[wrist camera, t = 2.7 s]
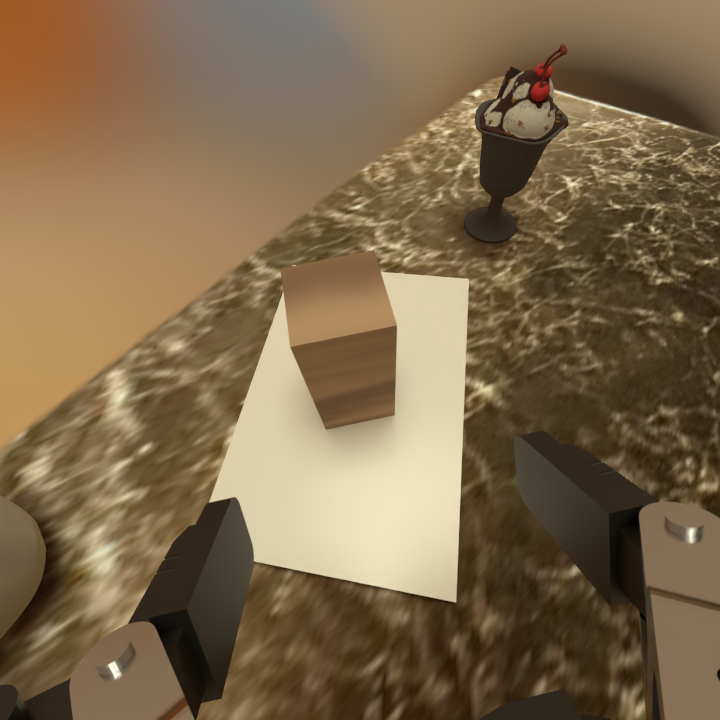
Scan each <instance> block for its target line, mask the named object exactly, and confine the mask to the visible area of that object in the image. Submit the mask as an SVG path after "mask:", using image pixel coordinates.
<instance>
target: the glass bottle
mask: <svg viewBox="0 0 720 720" xmlns="http://www.w3.org/2000/svg"><path fill="white" fill-rule="evenodd" d="M45 560H46V546H45V543H44V540H43V538H42V535H41V532H40V530H39V527H38V525H37V523H36V521H35V520H34V519H33V518H32V517H31V516H30V515H29V514H28V513H27V512H26V511H25V510H23V509H22V508H20V507H19V506H18V505H16V504H14V503H13V502H11V501H10V500H8V499H7V498H5V497H3V496H1V495H0V639H1V638H2V637H3V635H4V634H5V633H6V632H7V631H8V630H9V629H10V627H11V626H12V625H13V624H14V623H15V621H16V620H17V619H18V618H19V616H20V615H21V614H22V612H23V611H24V610H25V608H26V607H27V606H28V604H29V603H30V601H31V600H32V598H33V596H34V595H35V593H36V591H37V589H38V587H39V584H40V582H41V580H42V576H43V571H44V567H45Z"/></svg>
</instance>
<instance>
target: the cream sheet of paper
mask: <svg viewBox="0 0 720 720" xmlns="http://www.w3.org/2000/svg"><path fill="white" fill-rule="evenodd" d="M293 266H296V265H293ZM381 274H382V278H383V281H384V284H385V287H386V291H387V294H388V297H389V301H390V304H391V307H392V310H393V314H394V317H395V320H396V323H397V349H396V387H395V415H393V416H389V417H384V418H379V419H375V420H370V421H365V422H360V423H356V424H351V425H346V426H342V427H337V428H332V429H327V430H326V429H325V426H324V424H323V422H322V420H321V417H320V415H319V413H318V410H317V408H316V406H315V403H314V401H313V399H312V396H311V394H310V392H309V390H308V387H307V385H306V383H305V380H304V378H303V376H302V373H301V371H300V369H299V366H298V364H297V362H296V360H295V357H294V355H293V353H292V350H291V348H290V342H289V334H288V325H287V317H286V309H285V300H284V292H283V294H282V297H281V300H280V303H279V306H278V309H277V312H276V314H275V317H274V320H273V323H272V326H271V329H270V331H269V334H268V337H267V340H266V343H265V346H264V348H263V351H262V354H261V357H260V360H259V363H258V366H257V368H256V371H255V374H254V377H253V380H252V383H251V385H250V388H249V391H248V394H247V397H246V400H245V402H244V405H243V408H242V411H241V414H240V417H239V420H238V422H237V425H236V428H235V431H234V434H233V437H232V439H231V442H230V445H229V448H228V451H227V454H226V456H225V459H224V462H223V465H222V468H221V471H220V474H219V476H218V479H217V482H216V485H215V488H214V491H213V493H212V496H211V499H210V502H214V501H219V500H223V499H228V498H232V497H236V498H237V499H238V501H239V503H240V506H241V509H242V512H243V516H244V519H245V522H246V525H247V528H248V532H249V535H250V538H251V541H252V545H253V551H254V561H255V562H260V563H264V564H269V565H274V566H279V567H284V568H289V569H294V570H299V571H304V572H309V573H314V574H318V575H323V576H328V577H333V578H338V579H343V580H348V581H353V582H358V583H363V584H368V585H373V586H377V587H382V588H387V589H392V590H397V591H402V592H407V593H412V594H417V595H422V596H427V597H431V598H436V599H441V600H446V601H451V602H456V594H457V569H458V543H459V518H460V492H461V467H462V442H463V416H464V391H465V365H466V340H467V314H468V289H469V279H462V278H449V277H436V276H424V275H411V274H399V273H386V272H381ZM210 502H209V503H210Z"/></svg>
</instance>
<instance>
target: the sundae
mask: <svg viewBox="0 0 720 720" xmlns="http://www.w3.org/2000/svg"><path fill="white" fill-rule="evenodd" d="M559 52H561V54H560V55H559V56H557V57H555V58H554V59H552V60H551V61H550V59H551V58H552V57H553V56H554V55H555V54H557V53H559ZM566 53H567V48H566V46H565V45H564V44H561V45H560V49H559V50H558V51H556V52H555V53H553V54H552V55H551V56H550V57H549V59H548V60H547V61H546V63H542V64H540V65H538V66H537V67H536V69H535V70H527V71H524V72H522V71H520V70H518V69H515V68H514V67H510V68H508V70H507V73H506V75H505V78H504V80H503V83H502V86H501V88H500V91H499V94H498V96H497V99H493V100H488V101H485V102H483V103H482V104H481V105H480V106H479V107H478V109H477V110H476V115H475V124H476V128H477V130H478V131H479V132H481V133H482V146H481V158H480V183H481V185H482V187H483V188H484V189H485V191H486V192H487V193H488V194H490V195H491V201H490V205H489V207H484V208H479V209H476V210H474V211H472V212H471V213H470V214H469V215H468V216H467V217H466V219H465V228H466V230H467V231H468V233H469V234H470V235H472V236H473V237H474V238H476V239H478V240H481V241H485V242H500V241H504V240H506V239H508V238H510V237H511V236H513V234H514V233H515V231H516V221H515V219H514V218H513V216H512V215H510V214H509V213H508V212H506V211H504V210H501V208H502V204H503V201H504V198H505V197H510V196H512V195H514V194H516V193H518V192H519V191H520V190H522V189H523V188H524V186H525V185H526V183H527V181H528V180H529V178H530V177H531V175H532V173H533V171H534V169H535V167H536V165H537V163H538V161H539V159H540V157H541V155H542V153H543V151H544V149H545V147H546V146H547V144H548V143H549V142H550V141H551V140H552V139H553V138H554V137H555V136H556V135H558V134H559V133H560V132H561V131H562V130H563V129H565V128H566V127H567V126H568V118H567V116H566V115H565V114H564V113H563V112H562V111H561V110H560V109H559V108H558V107H557V106H556V105H555V104H554V103H553V93H554V90H553V84H552V81H551V79H550V76H551V74H552V67H551V65H550V64H551V63H552V62H553V61H554V60H556V59H557V58H559V57H561V56H562V55H566ZM549 61H550V62H549ZM548 62H549V64H548Z"/></svg>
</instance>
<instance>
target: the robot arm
mask: <svg viewBox="0 0 720 720" xmlns="http://www.w3.org/2000/svg"><path fill="white" fill-rule="evenodd" d="M514 452H515V462H516V473H517V483H518V488H519V492H520V495H521V497H522V499H523V501H524V503H525V505H526V506H527V507H528V509H529V510H530V511H531V512H532V513H533V515H534V516H535V517H536V518H537V519H538V520H539V522H540V523H541V524H542V525H543V526H544V528H545V529H546V530H547V531H548V532H549V534H550V535H551V536H552V537H553V538H554V539H555V541H556V542H557V543H558V544H559V545H560V547H561V548H562V549H563V550H564V551H565V553H566V554H567V555H568V556H569V557H570V559H571V560H572V561H573V562H574V563H575V564H576V566H577V567H578V568H579V569H580V570H581V572H582V573H583V574H584V575H585V576H586V578H587V579H588V580H589V581H590V582H591V584H592V585H593V586H594V587H595V588H596V589H597V591H598V592H599V593H600V594H601V595H602V597H603V598H604V599H605V600H606V601H607V603H608V604H609V605H610V606H611V607H612V606H616V605H620V604H624V603H629V602H632V603H633V604H634V605H635V606H636V608H637V609H638V610H639V629H640V642H641V654H642V667H643V680H644V693H645V705H646V720H720V518H718V517H717V516H715V515H713V514H711V513H710V512H708V511H705V510H703V509H700V508H698V507H695V506H691V505H687V504H683V503H677V502H659V501H658V500H656V499H655V498H653V497H652V496H650V495H649V494H648V493H646V492H645V491H643V490H642V489H640V488H639V487H638V486H636V485H635V484H633V483H632V482H630V481H629V480H628V479H626V478H625V477H623V476H622V475H621V474H619V473H618V472H614V470H613V469H612V468H611V467H609V466H608V465H606V464H605V463H602V462H601V460H599V459H598V458H596V457H595V456H593V455H592V454H591V453H589V452H588V451H586V450H584V449H581V448H578V447H576V446H573V445H570V444H567V443H565V444H561V443H560V442H558V441H557V440H556V439H554V438H553V437H552V436H550V435H549V434H548V433H546V432H545V431H536V432H532V433H527V434H523V435H518V436H516V437H515V438H514ZM253 565H254V551H253V545H252V541H251V538H250V535H249V532H248V528H247V525H246V522H245V519H244V516H243V512H242V509H241V506H240V503H239V501H238V499H237V498H236V497H232V498H228V499H223V500H219V501H214V502H210V503H207V504H206V505H205V507H204V509H203V511H202V513H201V515H200V517H199V519H198V521H197V523H196V525H192V526H189V527H188V528H187V529H186V530H185V531H184V532H183V533H182V534H181V535H180V536H179V537H178V538H177V539H176V540H175V541H174V542H173V544H172V545H171V547H170V549H169V551H168V553H167V554H166V556H165V561H163V562H162V563H161V565H160V567H159V569H158V571H157V575H155V576H154V578H153V580H152V581H151V583H150V585H149V587H148V589H147V590H146V592H145V594H144V596H143V598H142V599H141V601H140V603H139V605H138V607H137V608H136V610H135V612H134V614H133V616H132V617H131V619H130V621H129V623H128V625H125V626H123V627H121V628H119V629H117V630H115V631H113V632H112V633H110V634H108V635H107V636H106V637H104V638H103V639H102V640H100V641H99V642H98V643H97V644H96V645H95V646H94V647H93V648H92V649H91V650H89V652H88V653H87V654H86V655H85V656H84V657H83V659H82V660H81V661H80V663H79V664H78V666H77V667H76V669H75V671H74V673H73V675H72V677H71V679H69V680H67V681H65V682H63V683H61V684H59V685H57V686H55V687H53V688H51V689H49V690H47V691H45V692H43V693H41V694H39V695H37V696H35V697H33V698H31V699H29V700H27V701H25V702H24V701H23V700H22V698H21V696H20V694H19V693H18V691H17V689H16V688H15V687H14V686H12V685H0V720H196V719H197V715H198V712H199V708H200V705H201V703H204V702H208V701H213V700H217V699H221V698H222V694H223V690H224V685H225V681H226V677H227V673H228V669H229V665H230V661H231V657H232V652H233V648H234V644H235V640H236V636H237V632H238V628H239V624H240V620H241V615H242V611H243V607H244V603H245V599H246V595H247V591H248V587H249V583H250V578H251V574H252V570H253ZM480 720H609V719H606V718H602V717H597V716H593V715H588V714H578V712H577V710H576V708H575V707H574V705H573V703H572V701H571V700H570V698H569V696H568V694H567V693H566V691H565V689H562V690H558V691H554V692H550V693H546V694H541V695H537V696H533V697H529V698H525V699H521V700H517V701H513V702H509V703H505V704H503V705H501V706H500V707H498V708H497V709H495V710H494V711H492V712H490V713H489V714H487V715H486V716H484V717H483V718H481V719H480Z"/></svg>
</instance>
